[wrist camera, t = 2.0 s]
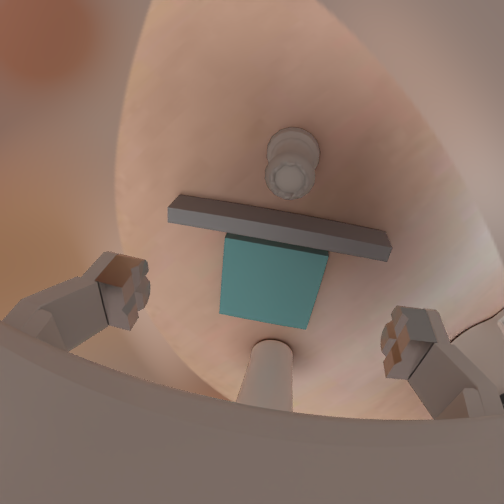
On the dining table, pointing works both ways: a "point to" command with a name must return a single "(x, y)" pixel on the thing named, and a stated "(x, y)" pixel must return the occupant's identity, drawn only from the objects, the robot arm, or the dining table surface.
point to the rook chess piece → (291, 163)
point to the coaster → (270, 280)
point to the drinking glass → (268, 377)
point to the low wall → (280, 227)
